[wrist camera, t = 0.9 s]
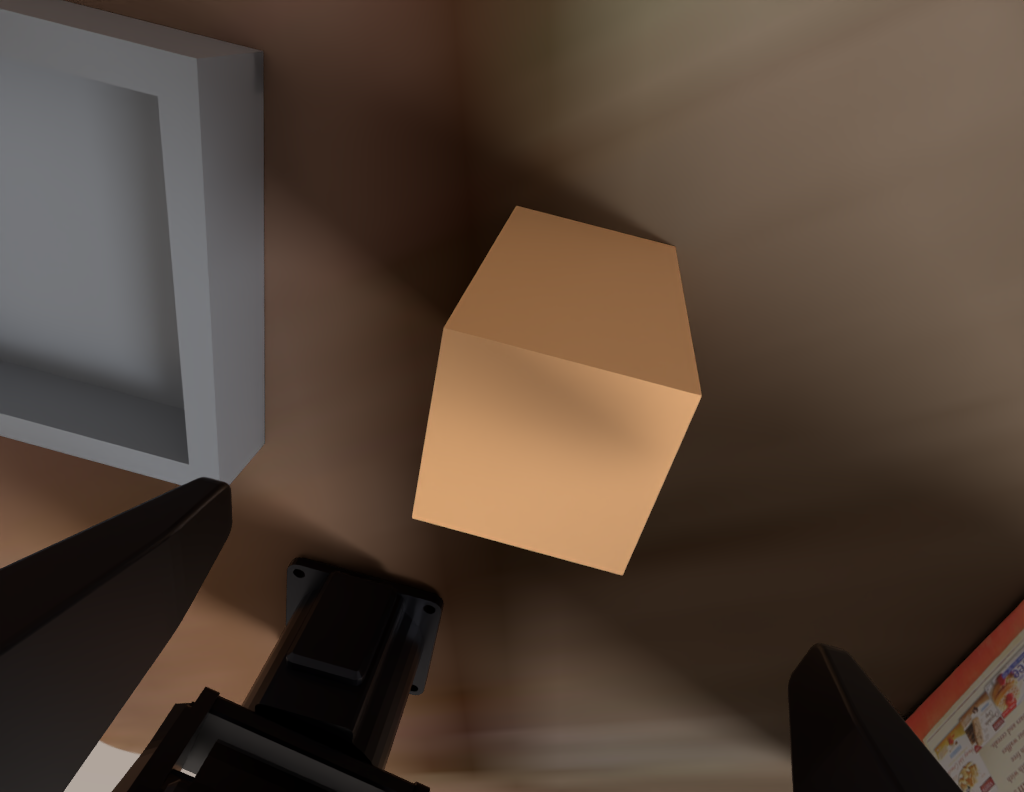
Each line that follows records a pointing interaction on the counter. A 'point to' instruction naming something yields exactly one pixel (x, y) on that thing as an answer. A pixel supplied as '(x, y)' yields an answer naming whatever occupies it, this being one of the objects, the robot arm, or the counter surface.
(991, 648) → the cracker box
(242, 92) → the block holder
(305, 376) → the counter surface
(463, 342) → the plain tan block
